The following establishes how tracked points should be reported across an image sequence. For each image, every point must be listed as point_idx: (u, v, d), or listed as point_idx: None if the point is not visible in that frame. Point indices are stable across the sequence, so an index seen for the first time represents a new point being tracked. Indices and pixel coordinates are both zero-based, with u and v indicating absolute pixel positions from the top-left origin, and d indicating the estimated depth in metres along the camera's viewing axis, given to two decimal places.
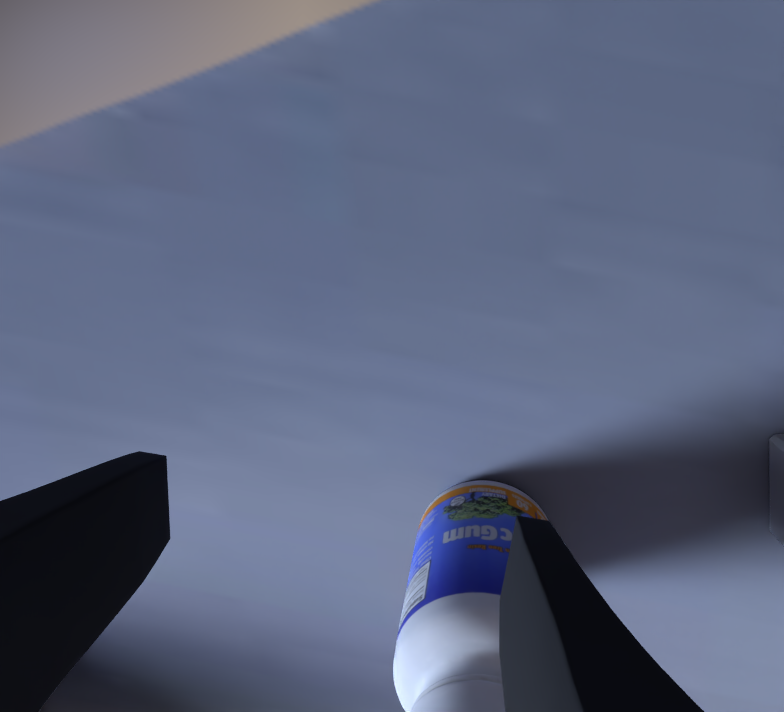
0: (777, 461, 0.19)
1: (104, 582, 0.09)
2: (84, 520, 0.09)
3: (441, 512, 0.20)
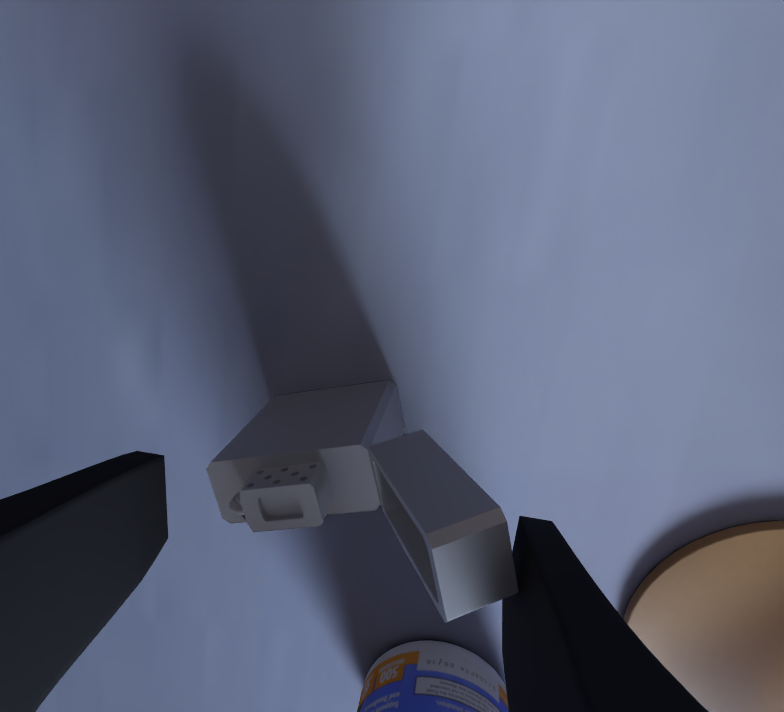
0: None
1: (102, 581, 0.09)
2: (81, 519, 0.09)
3: None
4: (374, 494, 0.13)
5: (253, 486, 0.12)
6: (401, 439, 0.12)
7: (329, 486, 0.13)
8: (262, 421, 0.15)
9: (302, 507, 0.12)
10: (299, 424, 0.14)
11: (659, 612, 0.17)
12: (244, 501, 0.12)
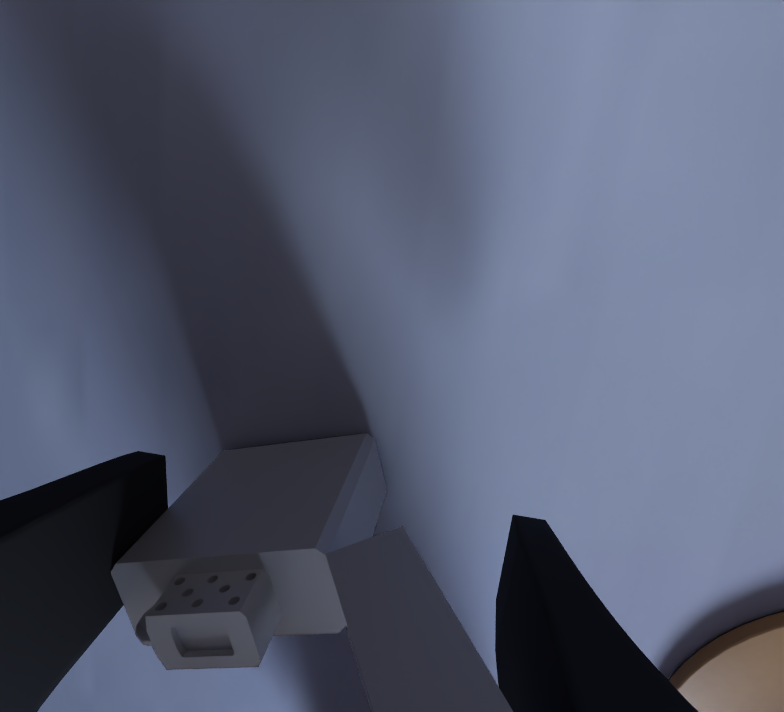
0: None
1: (103, 582, 0.09)
2: (83, 520, 0.09)
3: None
4: (336, 612, 0.09)
5: (165, 609, 0.09)
6: (372, 543, 0.09)
7: (274, 601, 0.09)
8: (199, 493, 0.12)
9: (231, 641, 0.08)
10: (243, 502, 0.11)
11: (699, 709, 0.14)
12: (151, 630, 0.09)
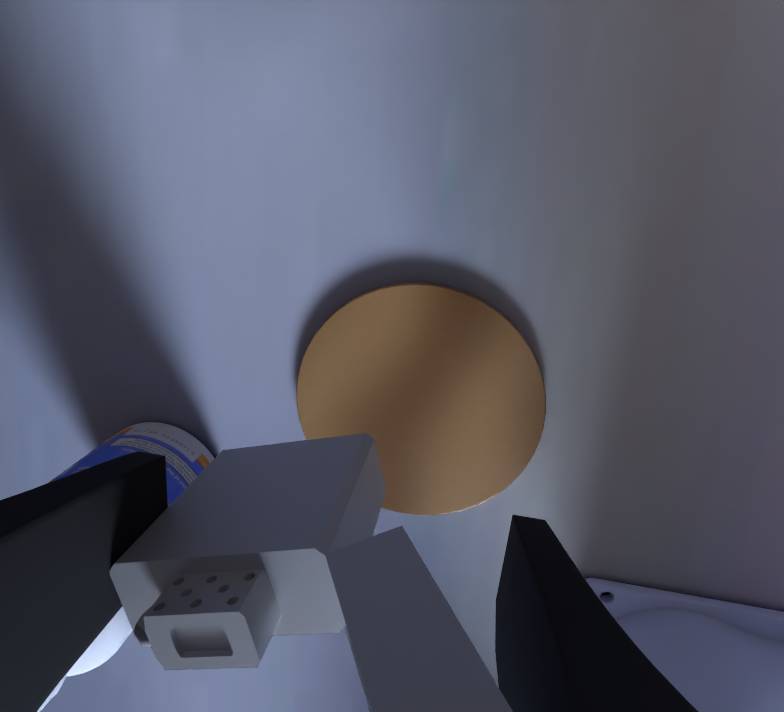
0: None
1: (103, 582, 0.09)
2: (83, 520, 0.09)
3: None
4: (336, 612, 0.09)
5: (163, 609, 0.09)
6: (371, 543, 0.09)
7: (274, 601, 0.09)
8: (198, 493, 0.12)
9: (231, 641, 0.08)
10: (243, 502, 0.11)
11: (319, 375, 0.19)
12: (150, 631, 0.09)
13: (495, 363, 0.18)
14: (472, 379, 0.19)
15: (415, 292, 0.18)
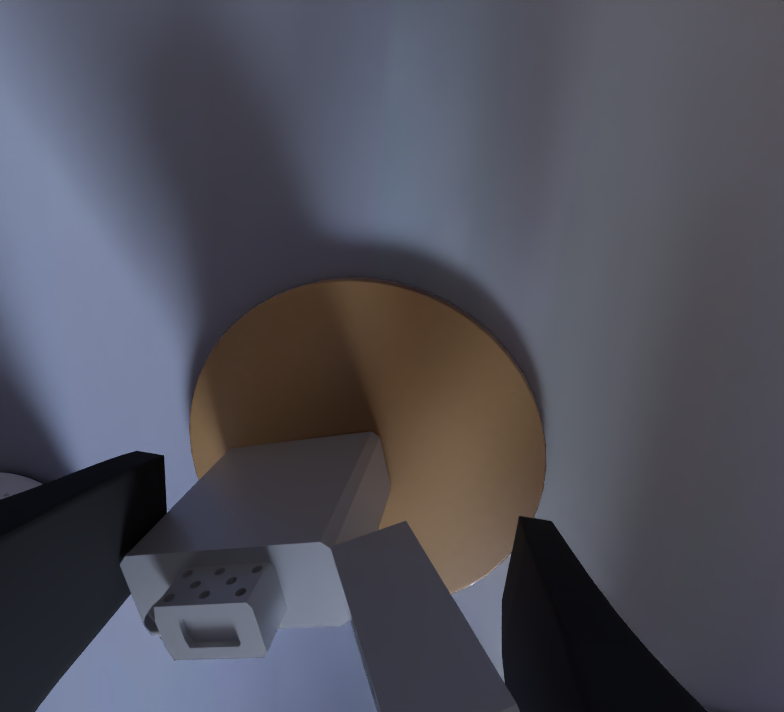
0: None
1: (101, 581, 0.09)
2: (81, 519, 0.09)
3: None
4: (341, 605, 0.09)
5: (173, 600, 0.09)
6: (376, 537, 0.09)
7: (280, 594, 0.09)
8: (206, 488, 0.12)
9: (238, 632, 0.09)
10: (250, 498, 0.11)
11: (219, 412, 0.14)
12: (160, 621, 0.09)
13: (471, 398, 0.12)
14: (438, 421, 0.13)
15: (350, 293, 0.12)
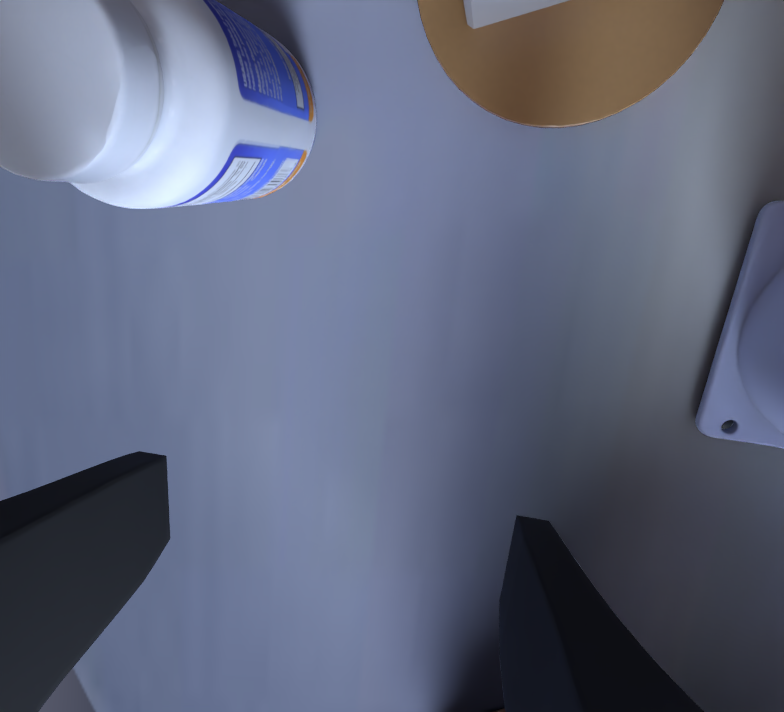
0: (492, 18, 0.16)
1: (104, 582, 0.09)
2: (84, 520, 0.09)
3: None
4: None
5: None
6: None
7: None
8: None
9: None
10: None
11: None
12: None
13: None
14: None
15: None
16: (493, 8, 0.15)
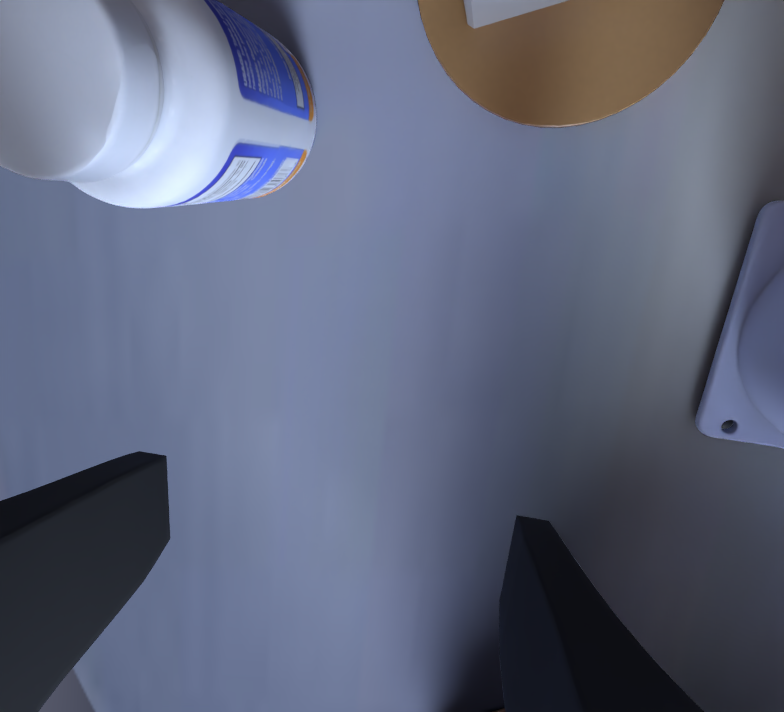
0: (493, 17, 0.16)
1: (104, 582, 0.09)
2: (84, 520, 0.09)
3: None
4: None
5: None
6: None
7: None
8: None
9: None
10: None
11: None
12: None
13: None
14: None
15: None
16: (494, 7, 0.15)
